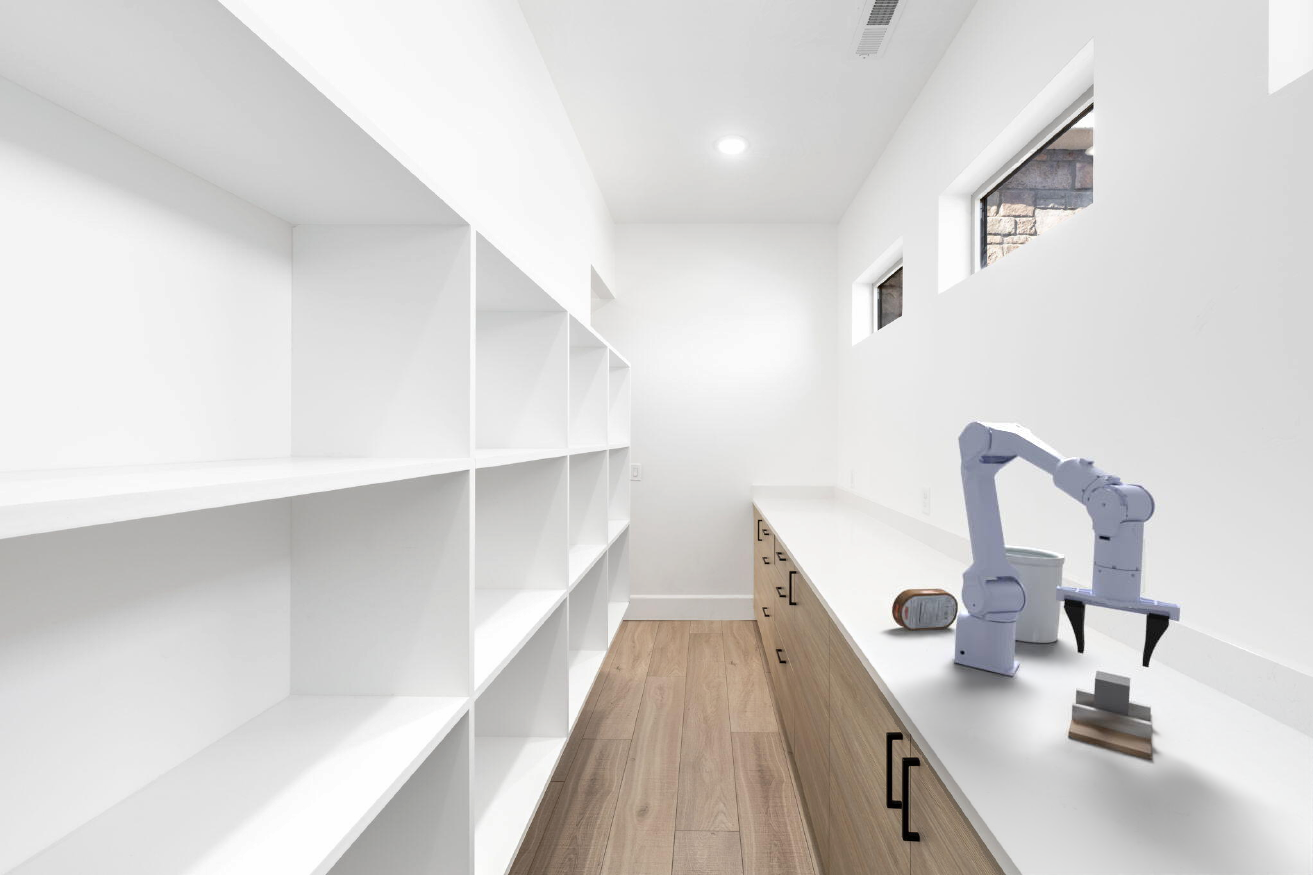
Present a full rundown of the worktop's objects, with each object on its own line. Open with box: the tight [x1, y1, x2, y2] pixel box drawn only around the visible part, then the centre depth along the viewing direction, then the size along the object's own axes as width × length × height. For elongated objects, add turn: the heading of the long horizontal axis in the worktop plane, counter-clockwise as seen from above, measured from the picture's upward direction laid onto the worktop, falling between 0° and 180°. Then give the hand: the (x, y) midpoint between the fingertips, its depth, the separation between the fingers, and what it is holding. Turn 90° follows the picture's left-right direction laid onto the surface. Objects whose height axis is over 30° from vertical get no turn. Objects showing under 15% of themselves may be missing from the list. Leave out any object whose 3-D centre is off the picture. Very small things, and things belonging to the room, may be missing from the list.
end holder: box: [1067, 687, 1153, 761], centre depth 90 cm, size 9×18×3 cm, turn 142°
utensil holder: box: [987, 545, 1066, 644], centre depth 132 cm, size 15×15×18 cm
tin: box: [891, 588, 959, 631], centre depth 133 cm, size 15×3×8 cm, turn 105°
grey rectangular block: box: [1093, 670, 1131, 716], centre depth 90 cm, size 4×4×6 cm
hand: (1112, 658), depth 91 cm, fingers open, 7 cm apart
